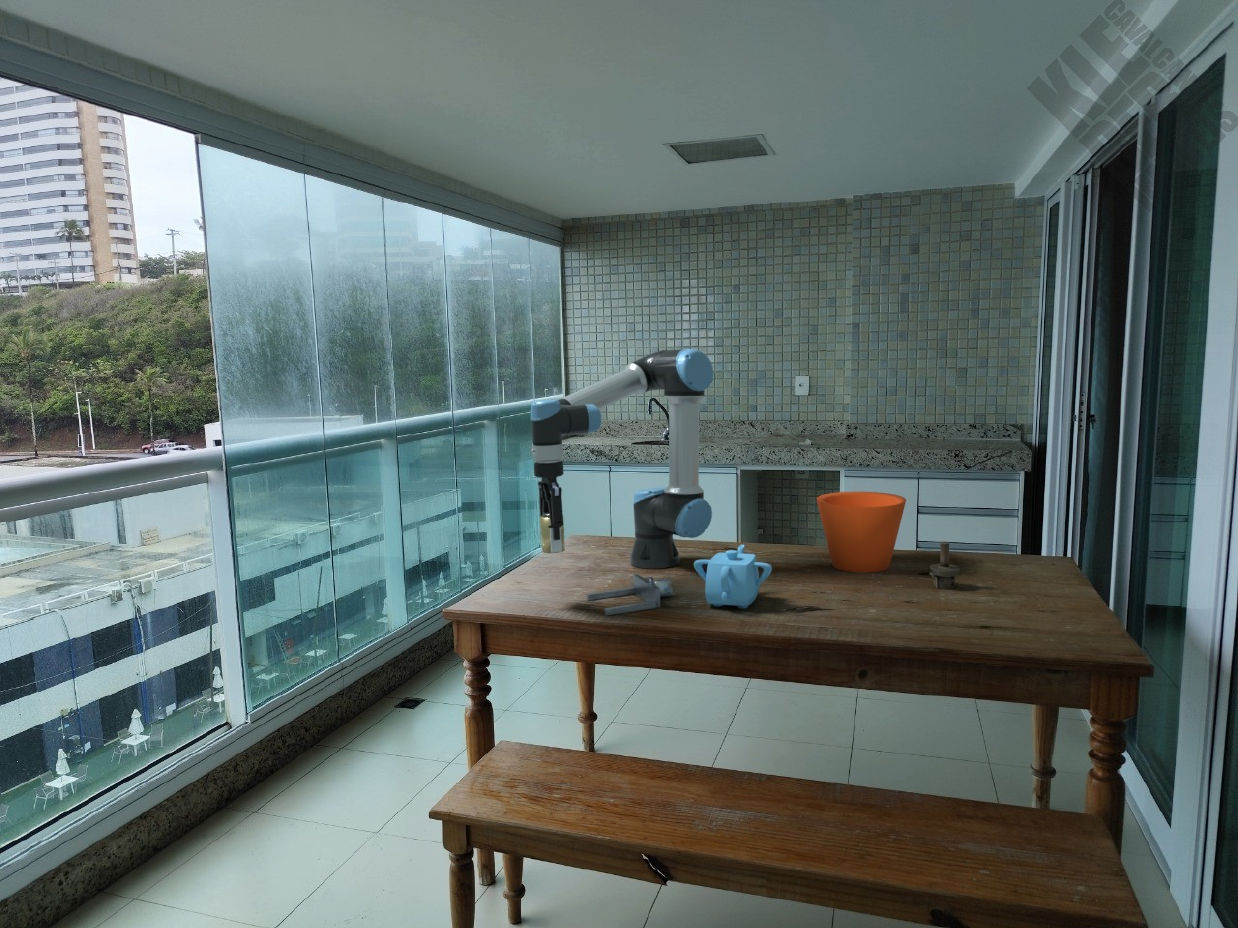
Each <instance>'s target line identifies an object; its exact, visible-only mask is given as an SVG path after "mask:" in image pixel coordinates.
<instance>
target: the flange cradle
mask: <svg viewBox="0 0 1238 928" xmlns="http://www.w3.org/2000/svg"><path fill="white" fill-rule="evenodd" d="M632 578H633V579H632V581H633V582H632V583H633V584H632V585H633V586H632V587H625V588H620V589H618V588H617V589H612V590H605V591H598V592H591V593H586V601H595V600H601V599H609V598H616V597H622V596H628V595H637V596H638V597H639V598H641V599H642V600H644V602H639V603H632V604H626V605H619V606H613V607H611V606H610V607H606V608H604V615H605V616H612V615H619V614H626V613H632V612H639V611H644V610H645V611H646V610H652V609H657V608H658V609H659V608H661V598H662V597H670V596H672V595H673V592H674V591H673V590H674V589H673V588H674V587H673V584H672V581H671V579H669V578H664V579H656V580H654V578H653V577H651V576H648V577H645V578H644V577H642V576H641V575H640V574H638V573H635V574H632Z"/></svg>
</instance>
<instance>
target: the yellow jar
mask: <svg viewBox="0 0 1238 928" xmlns="http://www.w3.org/2000/svg"><path fill="white" fill-rule="evenodd" d="M556 522H557V521H556ZM564 522H565V521H563V526H561V542H562V552H564V551H566V545H565V525H564ZM539 524H540V527H539V528H540V542H541V552H542V553H545V554H552V553H551V543H550V528H548V526H550V525H551V523H550V515H549V512H546V513H543V516H540V515H539ZM562 552H561V553H562ZM557 553H560V552H555V553H554V554H557Z"/></svg>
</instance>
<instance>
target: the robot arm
mask: <svg viewBox="0 0 1238 928" xmlns="http://www.w3.org/2000/svg"><path fill="white" fill-rule="evenodd" d="M713 367H714V366H713V365H712V362H711V359H710V358H709V357H708V356H707V355H706V353H705V352H703V351H701V350H699V349H690V348H684V349H663V350H659V351H655V352H652V353H649V354H648V355H645V356H643V357H642V358H640V359H636V360H634V361H633V362H629V363H628V364H627V365H626V366H625V368H624V369H623V370H622V371H619V372H617V373H615V374H612V375H610V376H608V377H605V378H603V379H602V380H599V381H597V382H595V383H592V384H591V385H588V386H586V387H584V388H582V389H579V390H577V391H576V392H573V393H570V394H568V395H566V396H564V397H562V398H559V399H546V400H545V399H542V400H534V401H533V402H532V403H531V405H530V425H531V436H532V438H531V439H532V448H531V450H530V452H531V454H532V456H533V460H534V461H535V462H534V463H533V475H534V477H535V478H540V479H541V480H540V481H537V485H538V495H539V502H538V503H539V517H540V516H543V513H546V512H549V515H550V523H551V525H550V526H548V528H550V543H551V553H550V554H556V553H555V552H559V553H562V542H561V526H563V522H564V515H563V501H562V500H563V499H562V492H563V488H562V487H561V486H560V484H559V483H558V479H557V478H559V477H561V476H563V475H564V461H562V460H563V458H564V451H563V449H564V448H563V437H566V436H572V435H585V434H586V435H588V434H590V433H591V434H592V433H595V432H598V430H599V429H600V428H601V425H602V414H601V413H602V412H601V411H600V410H603V409H606V408H607V407H609V406H612V405H614V404H616V403H618V402H620V401H623V400H624V399H627V398H629V397H630V396H633V395H635V394H637V395H643V394H646V393H647V392H651V391H661V390H662V391H663V397H664V398H665V400H667V401H668V403H669V407H668V408H669V412H668V413H669V415H668V416H669V417H668V418H669V419H668V420H669V421H668V422H669V423H668V425H669V427H668V428H669V429H668V432H669V434H668V435H669V437H668V438H669V439H668V440H669V441H668V443H669V445H668V447H669V449H668V452H669V453H668V454H669V455H668V461H669V462H668V463H669V465H668V468H669V469H668V471H669V474H668V478H669V479H668V485H667V486H665V487H653V488H646V489H640V490H637V491H636V492H635V493H634V495H633V519H634V541H633V546H632V549H631V552H630V556H629V561H630V562H629V563H630V565H631V566H633V567H636V568H642V569H664V568H670V567H671V568H672V567H674V566H676V565H679V564H680V554H679V553H680V552H679V551H678V548H677V545H676V542H675V540H674V535H675V536H678V537H681V538H692V539H693V538H699V537H700V536H701V535H703V534H704V533H705V532H706V530H707V529H709V526H710V525H711V521H712V517H713V510H712V509H713V508H712V506H711V505H710V503H709V502H708V501H707V500H706V499H704V498H705V496H704V495H705V491H704V489H703V488H702V487H701V486H700V485H699V482H700V478H699V477H700V476H699V475H700V473H699V471H700V470H699V469H700V468H699V467H700V461H699V460H700V454H699V453H700V403H701V401H702V400H703V399H704V398H705V393H706V392H705V390H707V389H708V388H709V387H710V385H711V383H712V382H713V379H714V369H713ZM556 521H557V522H556Z"/></svg>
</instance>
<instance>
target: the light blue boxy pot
mask: <svg viewBox="0 0 1238 928" xmlns="http://www.w3.org/2000/svg"><path fill="white" fill-rule="evenodd" d="M745 547H746V546H745V544H740V545H739V546H738V547H737V550H734V549H730V550H726V551H725V552H717V553H716V554H715V555H713V556H712V557H711V558H710V559H697V560H695V561H694V563H693V567H694V569H695V571H696V573H697V574H698V575H699V576H700V577H701V579H703V580H704V581H705V585H704V586H705V600H706V603H707V604H711V605H712V606H713V607H717V608H718V607H722V606H724V605H725V606H734V607H735V606H736V607H737V608H738V609H747V608H749V606H750V605H752V604H753V603H754V601H755V600H756V599H757V597H758V595H759V589H760V585H761V584H762V583H763V582H765V580H766V579H767V578H768V577H769V576H770V575H771V573H772V570H773V567H772V565H771V564H770V563H766V562H760V561H758V560H757V557H756V556H757V555H756V554H754V553H745ZM757 561H758V562H757ZM703 565H707V566H706V567H707V569H706V572H705V570H704V568H703ZM759 568H762V569H763V571H762V573H761V575H759V574H760V573H759Z"/></svg>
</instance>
